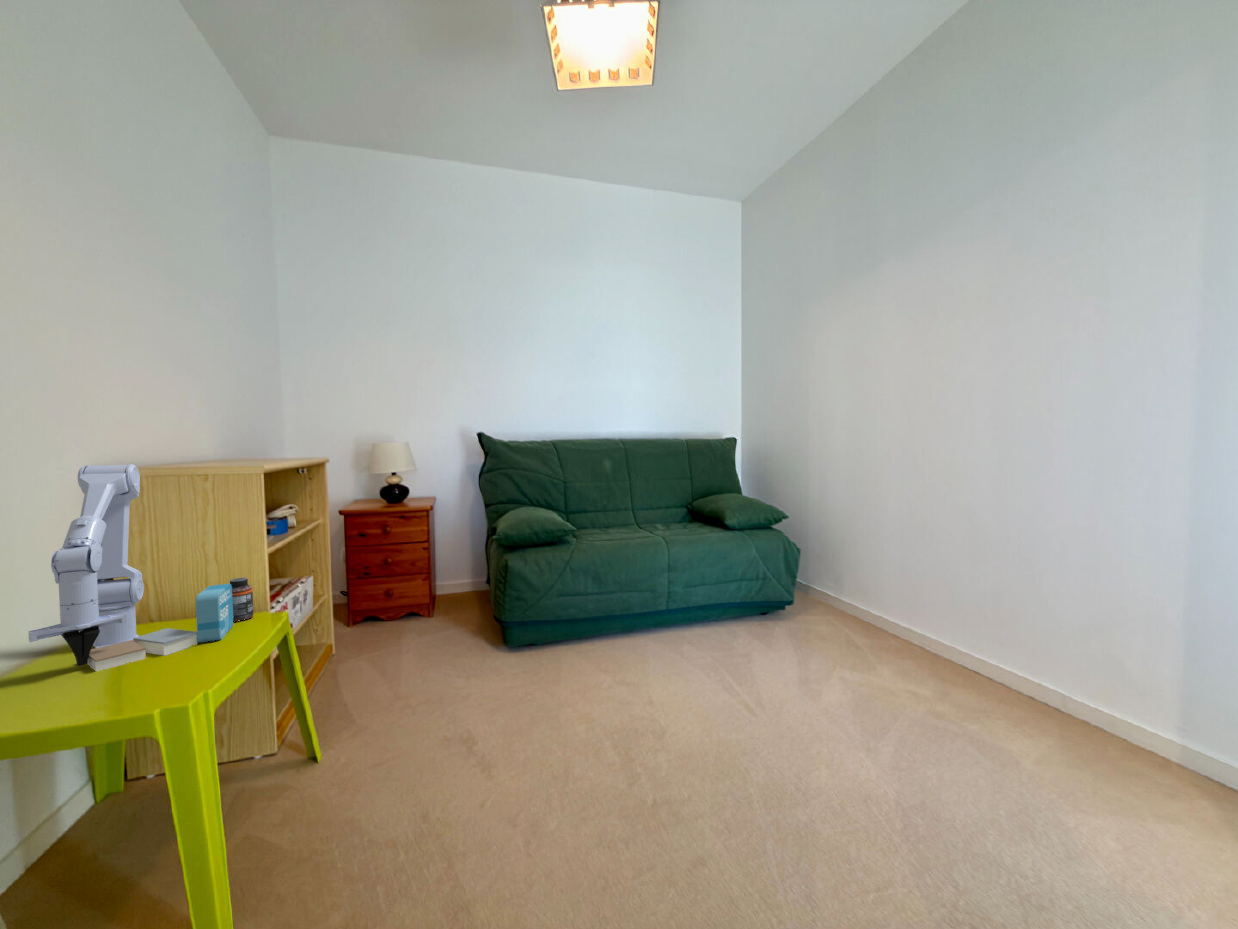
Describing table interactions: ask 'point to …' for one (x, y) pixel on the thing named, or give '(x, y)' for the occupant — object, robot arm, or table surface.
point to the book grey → (167, 641)
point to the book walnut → (115, 655)
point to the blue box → (214, 612)
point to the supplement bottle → (241, 599)
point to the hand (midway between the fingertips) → (82, 664)
